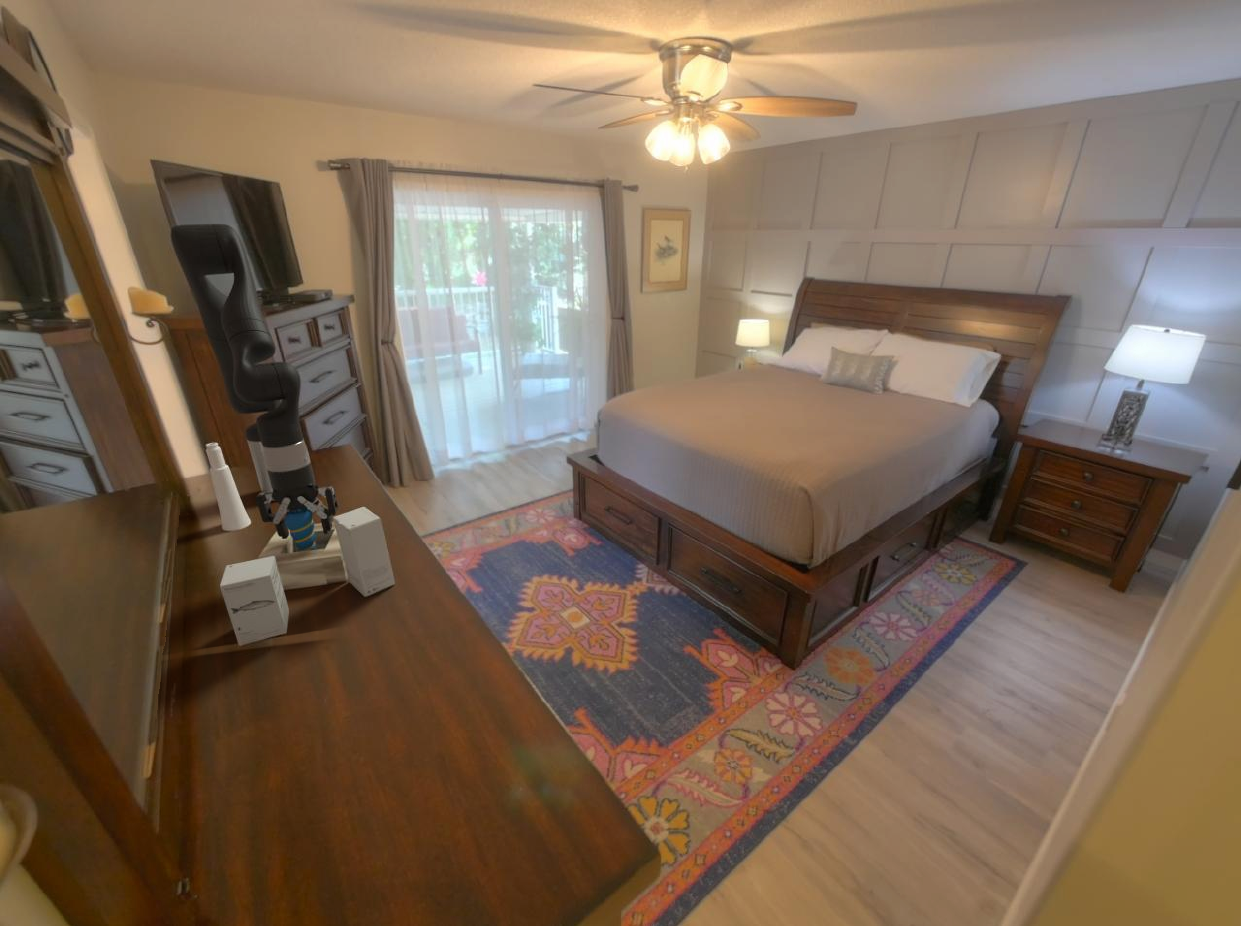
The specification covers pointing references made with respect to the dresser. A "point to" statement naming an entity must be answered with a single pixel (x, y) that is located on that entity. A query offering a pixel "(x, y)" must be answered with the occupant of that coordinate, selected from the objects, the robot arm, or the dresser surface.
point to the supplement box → (255, 599)
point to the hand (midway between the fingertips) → (306, 534)
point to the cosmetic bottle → (226, 491)
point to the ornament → (301, 528)
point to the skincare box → (364, 550)
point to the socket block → (308, 560)
